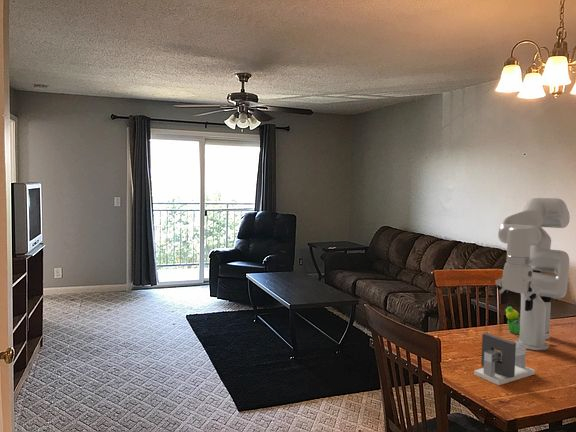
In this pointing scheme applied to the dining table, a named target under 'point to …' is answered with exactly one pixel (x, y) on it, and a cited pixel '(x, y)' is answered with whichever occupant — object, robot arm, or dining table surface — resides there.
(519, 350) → the grey square bar
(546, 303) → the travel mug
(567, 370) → the dining table surface
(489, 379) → the stand
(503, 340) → the collar
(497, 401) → the dining table surface
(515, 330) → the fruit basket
